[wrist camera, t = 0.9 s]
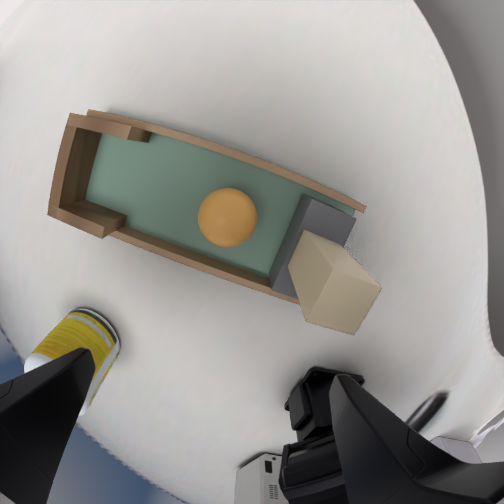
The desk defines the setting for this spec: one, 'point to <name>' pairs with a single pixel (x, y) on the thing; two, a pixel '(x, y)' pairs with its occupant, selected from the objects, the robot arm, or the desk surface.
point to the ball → (227, 217)
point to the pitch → (198, 199)
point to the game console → (458, 449)
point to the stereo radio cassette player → (260, 482)
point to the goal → (85, 174)
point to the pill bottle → (80, 335)
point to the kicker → (323, 268)
